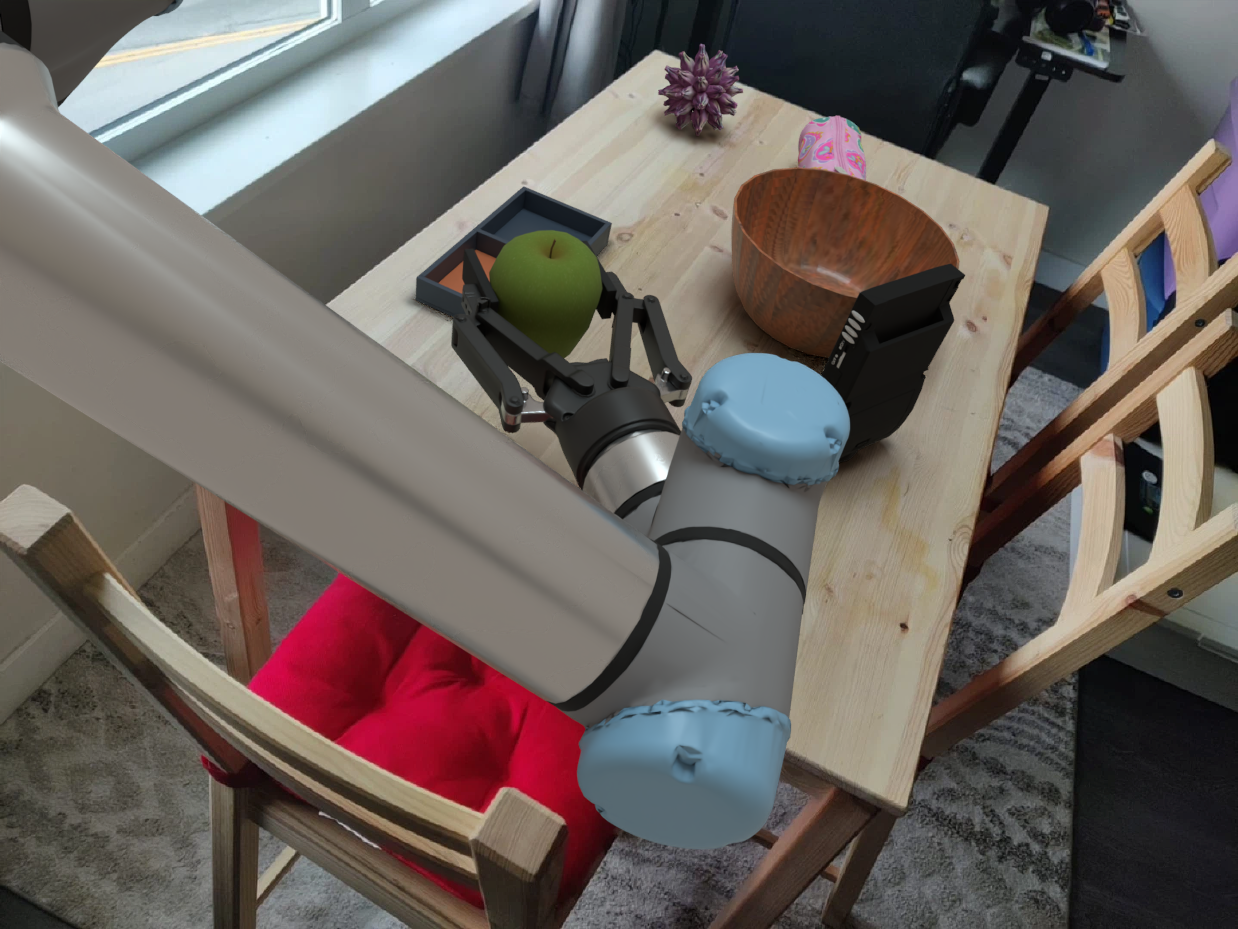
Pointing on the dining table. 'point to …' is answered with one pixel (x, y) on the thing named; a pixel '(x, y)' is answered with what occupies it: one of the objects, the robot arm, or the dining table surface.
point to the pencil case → (832, 147)
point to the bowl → (823, 250)
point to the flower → (701, 90)
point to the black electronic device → (890, 351)
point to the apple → (547, 288)
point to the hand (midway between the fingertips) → (525, 259)
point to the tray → (504, 243)
